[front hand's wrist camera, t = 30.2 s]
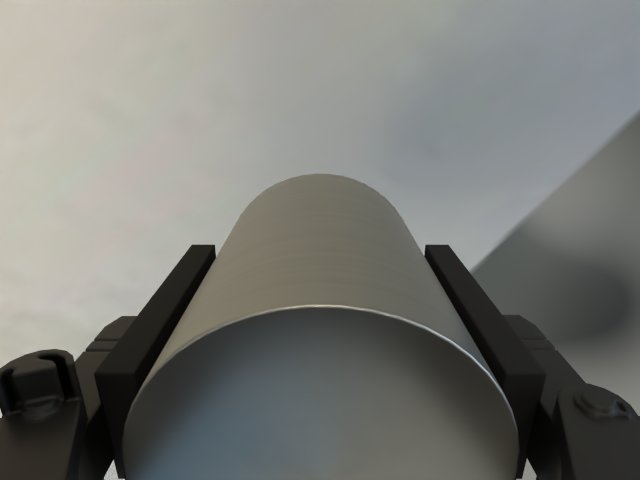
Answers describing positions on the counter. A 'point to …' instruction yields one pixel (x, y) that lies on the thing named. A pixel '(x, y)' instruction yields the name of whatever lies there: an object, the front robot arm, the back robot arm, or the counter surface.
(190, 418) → the can
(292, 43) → the counter surface
